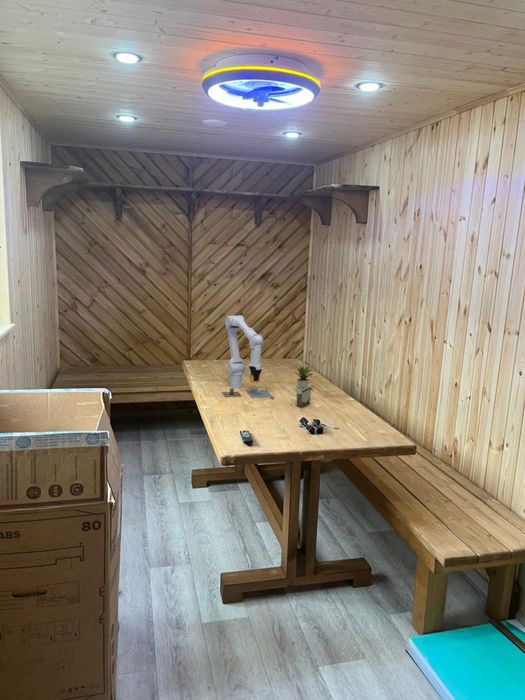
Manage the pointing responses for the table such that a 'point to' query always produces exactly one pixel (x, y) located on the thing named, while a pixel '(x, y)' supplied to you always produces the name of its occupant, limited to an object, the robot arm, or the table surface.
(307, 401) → the food container
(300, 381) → the house plant
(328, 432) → the table surface
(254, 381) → the collar
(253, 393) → the board
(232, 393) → the stand
